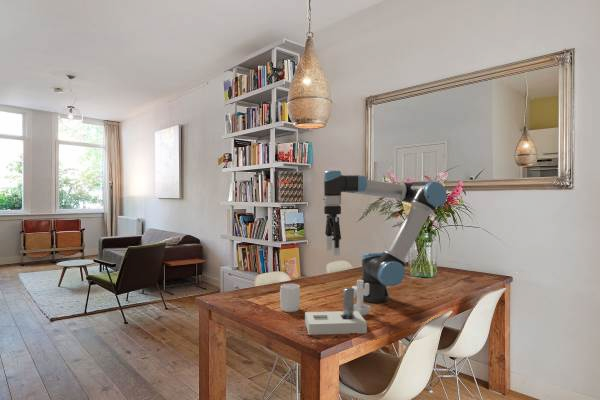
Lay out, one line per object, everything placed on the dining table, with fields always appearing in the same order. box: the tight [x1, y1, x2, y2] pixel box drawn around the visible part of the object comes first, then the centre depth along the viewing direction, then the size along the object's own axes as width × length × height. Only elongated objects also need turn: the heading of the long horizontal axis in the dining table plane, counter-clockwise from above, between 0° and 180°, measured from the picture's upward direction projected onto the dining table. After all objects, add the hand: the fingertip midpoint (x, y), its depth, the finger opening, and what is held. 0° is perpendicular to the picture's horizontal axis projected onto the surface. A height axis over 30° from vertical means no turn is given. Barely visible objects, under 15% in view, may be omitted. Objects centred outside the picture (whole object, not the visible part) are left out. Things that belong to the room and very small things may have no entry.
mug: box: [279, 283, 301, 313], centre depth 171 cm, size 9×12×11 cm
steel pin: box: [342, 287, 355, 319], centre depth 148 cm, size 4×4×14 cm
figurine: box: [351, 279, 372, 317], centre depth 164 cm, size 7×9×15 cm
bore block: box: [304, 310, 368, 336], centre depth 147 cm, size 22×14×4 cm, turn 95°
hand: (332, 252), depth 168 cm, fingers open, 13 cm apart
